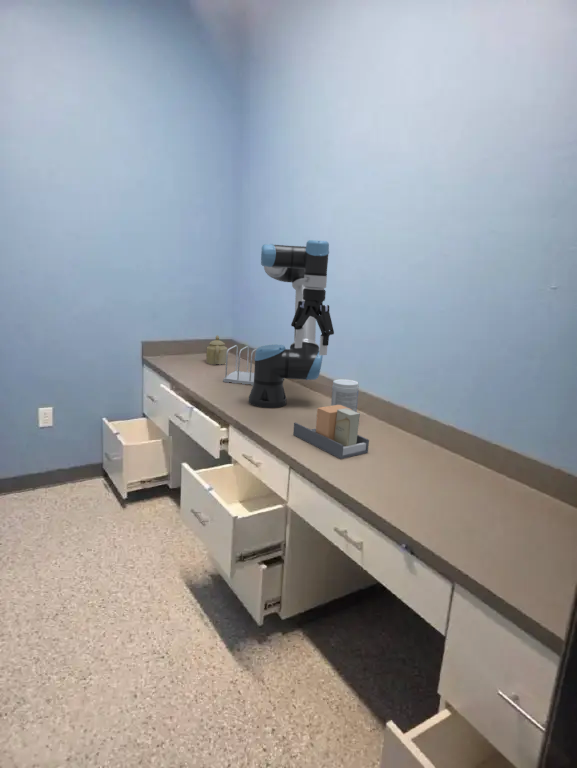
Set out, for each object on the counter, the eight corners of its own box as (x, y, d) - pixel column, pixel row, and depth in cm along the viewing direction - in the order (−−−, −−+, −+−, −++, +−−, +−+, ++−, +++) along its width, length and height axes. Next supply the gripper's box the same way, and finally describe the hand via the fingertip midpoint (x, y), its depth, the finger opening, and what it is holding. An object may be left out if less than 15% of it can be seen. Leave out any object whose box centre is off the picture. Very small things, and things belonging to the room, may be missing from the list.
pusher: (315, 440, 168) (317, 407, 166) (336, 436, 174) (339, 404, 171) (327, 446, 164) (329, 413, 161) (349, 442, 169) (352, 409, 166)
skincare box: (332, 446, 165) (335, 409, 162) (343, 444, 168) (346, 407, 165) (346, 453, 160) (349, 414, 157) (356, 450, 163) (360, 413, 160)
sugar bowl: (234, 365, 277) (235, 337, 274) (215, 367, 271) (216, 338, 267) (221, 360, 289) (221, 333, 285) (202, 361, 283) (203, 334, 279)
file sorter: (222, 382, 241) (223, 349, 237) (234, 374, 258) (235, 343, 254) (276, 388, 237) (278, 354, 233) (284, 380, 253) (286, 348, 249)
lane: (293, 434, 176) (294, 422, 175) (319, 430, 182) (320, 418, 181) (340, 459, 157) (342, 445, 156) (367, 452, 164) (369, 439, 163)
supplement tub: (361, 422, 194) (364, 383, 190) (341, 425, 189) (344, 386, 185) (344, 415, 202) (347, 377, 198) (324, 418, 197) (327, 379, 193)
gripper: (283, 285, 182) (280, 345, 187) (330, 291, 163) (325, 358, 168) (300, 285, 187) (297, 344, 192) (348, 291, 167) (342, 357, 172)
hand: (310, 351), depth 180 cm, fingers open, 13 cm apart
